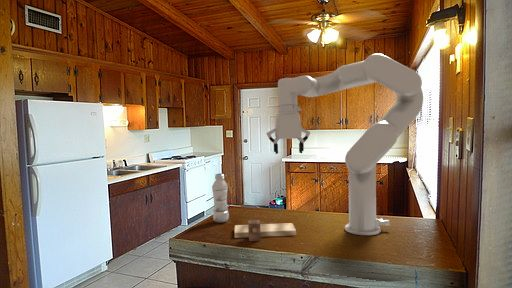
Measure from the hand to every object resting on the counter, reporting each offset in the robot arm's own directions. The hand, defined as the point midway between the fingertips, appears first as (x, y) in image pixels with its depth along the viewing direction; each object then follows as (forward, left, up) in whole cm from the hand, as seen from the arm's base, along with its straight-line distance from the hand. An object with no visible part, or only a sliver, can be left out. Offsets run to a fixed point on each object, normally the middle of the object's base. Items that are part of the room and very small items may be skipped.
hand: (288, 153), depth 130 cm
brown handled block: (+15, +12, -28) cm, 34 cm away
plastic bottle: (+28, -6, -28) cm, 40 cm away
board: (+11, +10, -28) cm, 32 cm away
